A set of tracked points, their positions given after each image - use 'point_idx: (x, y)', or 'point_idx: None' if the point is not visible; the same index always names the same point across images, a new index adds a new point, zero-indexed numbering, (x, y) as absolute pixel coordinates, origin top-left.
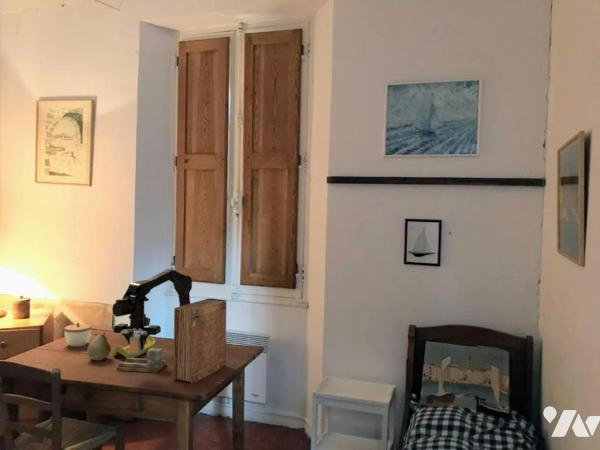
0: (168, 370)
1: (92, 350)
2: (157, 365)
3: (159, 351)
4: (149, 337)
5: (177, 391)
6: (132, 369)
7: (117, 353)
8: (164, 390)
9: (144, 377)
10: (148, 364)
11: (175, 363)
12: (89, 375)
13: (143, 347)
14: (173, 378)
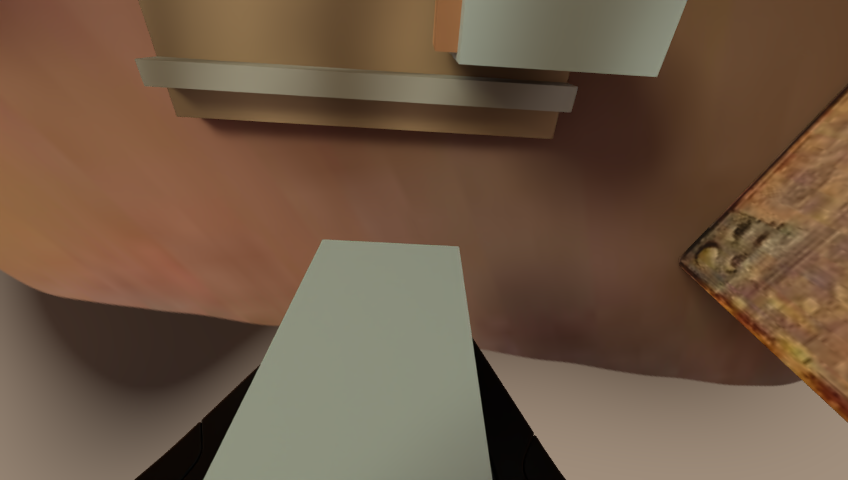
0: None
1: None
2: (566, 102)
3: (665, 32)
4: None
5: (684, 374)
6: (332, 123)
7: None
8: (622, 371)
9: (479, 236)
10: (466, 82)
11: (789, 342)
12: (114, 244)
13: (479, 350)
14: (685, 271)
